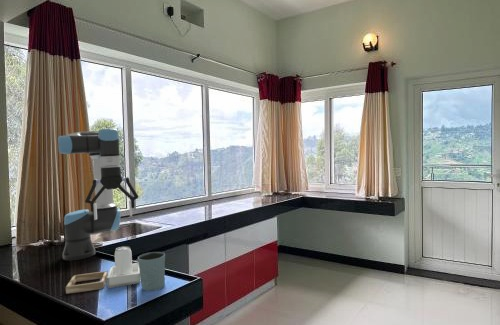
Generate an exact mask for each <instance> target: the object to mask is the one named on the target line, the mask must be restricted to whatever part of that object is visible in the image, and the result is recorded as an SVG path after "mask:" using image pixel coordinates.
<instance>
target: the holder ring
mask: <svg viewBox="0 0 500 325" xmlns="http://www.w3.org/2000/svg"><path fill="white" fill-rule="evenodd" d="M108 274H109V271H108V270H104V271H96V272H89V273H82V274H80V273H79V274H75V275H73V276H72V277H71V279H70V280H69V282H68V283H67V284H66V286H65V294H66V295H68V294H74V293H82V292H88V291H89V292H90V291H96V290H102V289H104V288H105V285H106V284H107V276H108ZM93 280H100V281H96V282H95V281H94V282H88V283H81V284H77V283H78V282H85V281H93Z"/></svg>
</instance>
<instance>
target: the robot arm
mask: <svg viewBox="0 0 500 325" xmlns="http://www.w3.org/2000/svg"><path fill="white" fill-rule="evenodd" d="M119 139H120V136H119V130H118V129H117V128H100V129H99V130H96V131H93V130H92V131H77V132H71V133H68V134H67V135H66V134H64V135H60V136H58V138H57V142H58V143H57V144H58V152H59V154H61V155H63V154H65V155H70V154H71V155H72V154H89V158H90V159H92V161H93V162H92V163H93V175H94V176H93V178H94V179H93V180H92V185H91V187H90V189H89V191H88V194H87V196H86V198H85V200H84V202H85V203H86V204H90V210H89V208H88V209H87V208H86V209H79V210H75V211H71V212H69V213H66V214H65V215H64V218H63V221H64V222H63V226H64V237H65V243H64V248H63V251H62V260H64V261H78V260H83V259H87V258H91V257H92V256H95V255H96V248H95V246H94V243H93V241H92V239H91V235H93V234H94V235H95V234H102V233H107V232H108V233H110V232H114V231H117V230H118V229H119V228H120V224H121V209H120V208H118V206H117V204H115V203H114V193H113V192H114V191H113V190H116V189H119V190H120V191H121V192H122V193H123V194H124V195H125V196H126V197H127V198H128V199H129V201H128V204H129V217H133V209H134V208H135V201H136V200H138V199H139V195H138V193H137V192H136V189H135V188H134V186H133V185H132V183H131V181H130V177H129V176H127V177H123V178H122V172H121V171H122V169H121V166H120V165H121V155H120V141H119ZM122 182H124V183H125V184H126V186H127V187H128V188H129V190H130V191H131V193H132V194H131V193H130V192H129V191H128V190H127V189H126V188H125V187H124V186H123V185H122ZM94 193H95V195H94V197H93V198H92V196H93V194H94ZM91 198H92V199H91Z"/></svg>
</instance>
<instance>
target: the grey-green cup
mask: <svg viewBox="0 0 500 325" xmlns="http://www.w3.org/2000/svg"><path fill="white" fill-rule="evenodd" d="M165 262H166V253H165V252H161V251H151V252H146V253H142V254H140V255H139V256H137V263H138V264H139V269H140V270H139V271H140V278H141V281H140V284H141V289H142V291H146V292H153V291H155V292H156V291H158V290H160V289H163V288H164V287H165V284H166V283H165V282H166V281H165V280H166V277H165V276H166V275H165V274H166V272H165V271H166V266H165V264H166V263H165Z"/></svg>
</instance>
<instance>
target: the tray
mask: <svg viewBox="0 0 500 325" xmlns="http://www.w3.org/2000/svg"><path fill="white" fill-rule="evenodd" d="M132 269H133V274H127V275H120V276H116V269H115V265H113V266H110V269H109V271H108V276H107V281H106V284H107V289H110V288H111V289H112V288H119V286H120V287H125V285H126V286H131V285H132V284H133V285H137V284H138V285H139V283H140V284H141V281H140V280H141V278H140V271H139V270H140V269H139V264H138V262H132Z"/></svg>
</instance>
